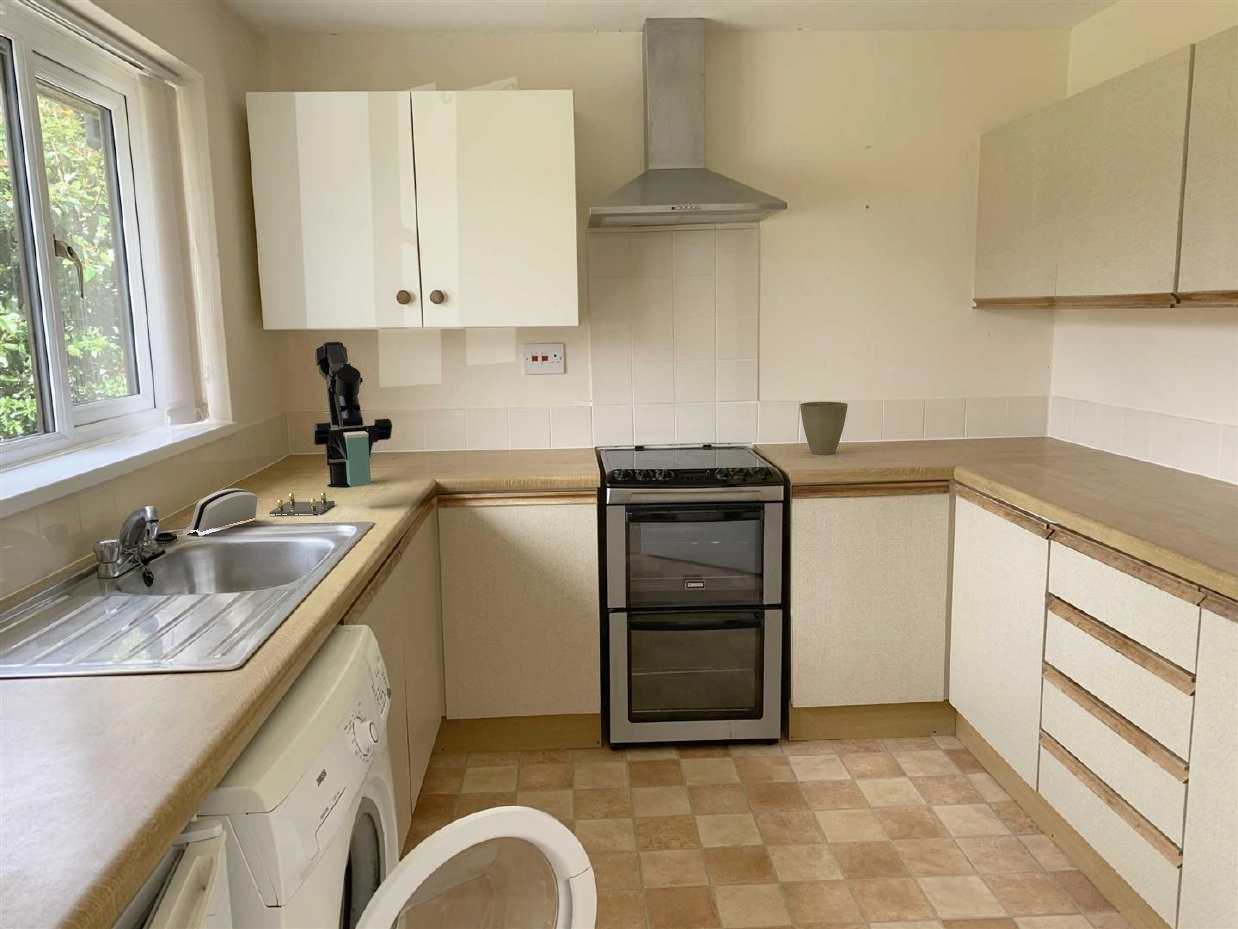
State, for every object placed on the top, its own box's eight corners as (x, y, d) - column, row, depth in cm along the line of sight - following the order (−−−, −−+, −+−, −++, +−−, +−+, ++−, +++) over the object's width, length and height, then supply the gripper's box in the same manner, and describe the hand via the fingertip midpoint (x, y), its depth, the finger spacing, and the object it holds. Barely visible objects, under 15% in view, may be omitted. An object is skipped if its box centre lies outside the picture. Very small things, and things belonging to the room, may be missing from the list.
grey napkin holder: (239, 518, 220) (247, 480, 217) (254, 526, 218) (262, 488, 215) (183, 535, 204) (190, 494, 202) (199, 543, 203) (207, 502, 200)
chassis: (287, 505, 233) (286, 492, 233) (334, 504, 233) (333, 491, 233) (269, 516, 222) (268, 502, 221) (319, 515, 221) (318, 500, 221)
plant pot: (792, 451, 302) (793, 402, 299) (835, 448, 305) (836, 400, 302) (810, 458, 288) (810, 407, 285) (854, 455, 290) (855, 405, 287)
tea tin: (347, 483, 230) (343, 432, 228) (368, 481, 232) (364, 431, 230) (350, 486, 225) (346, 435, 223) (371, 484, 227) (368, 433, 225)
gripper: (383, 426, 244) (393, 473, 236) (309, 431, 237) (317, 480, 229) (386, 399, 236) (397, 447, 227) (310, 403, 228) (319, 453, 220)
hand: (358, 458), depth 226 cm, fingers closed on tea tin, 5 cm apart
